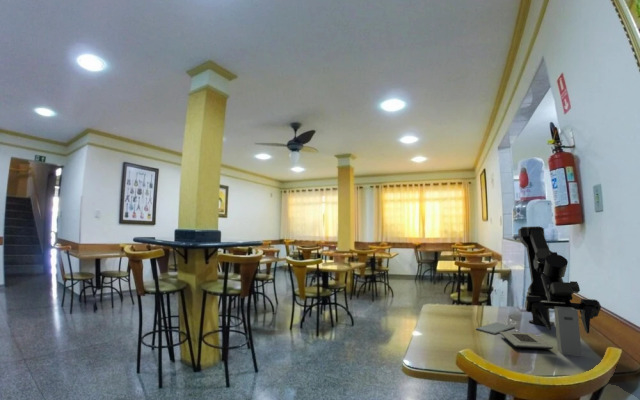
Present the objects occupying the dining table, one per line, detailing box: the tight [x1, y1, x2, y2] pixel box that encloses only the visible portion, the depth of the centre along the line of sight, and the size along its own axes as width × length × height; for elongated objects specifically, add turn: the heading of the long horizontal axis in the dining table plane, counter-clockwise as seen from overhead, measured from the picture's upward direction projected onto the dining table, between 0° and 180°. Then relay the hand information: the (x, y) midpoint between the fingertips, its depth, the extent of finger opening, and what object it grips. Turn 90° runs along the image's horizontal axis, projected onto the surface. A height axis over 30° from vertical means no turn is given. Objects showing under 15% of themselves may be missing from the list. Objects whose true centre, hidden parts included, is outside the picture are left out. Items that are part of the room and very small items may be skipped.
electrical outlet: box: [499, 331, 554, 350], centre depth 100 cm, size 13×10×2 cm
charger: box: [553, 306, 583, 357], centre depth 93 cm, size 4×5×13 cm
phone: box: [475, 322, 516, 336], centre depth 116 cm, size 14×7×1 cm, turn 122°
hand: (568, 330), depth 92 cm, fingers open, 9 cm apart
